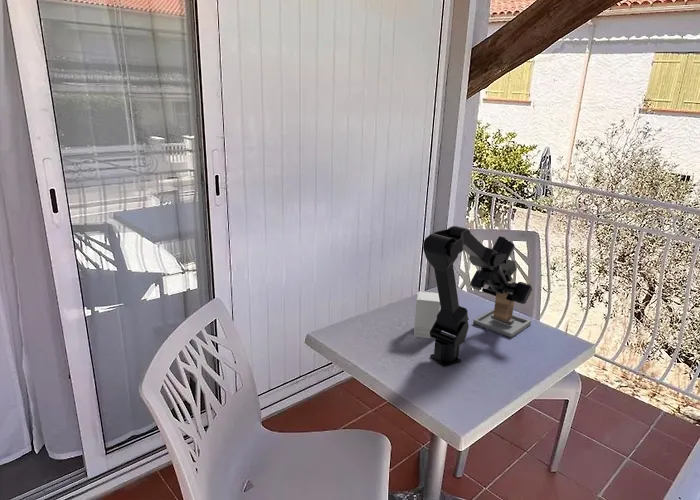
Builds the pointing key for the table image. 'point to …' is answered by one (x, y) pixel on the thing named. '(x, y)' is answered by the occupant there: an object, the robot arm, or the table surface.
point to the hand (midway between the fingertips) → (506, 298)
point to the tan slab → (503, 309)
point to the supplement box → (426, 313)
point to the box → (502, 324)
